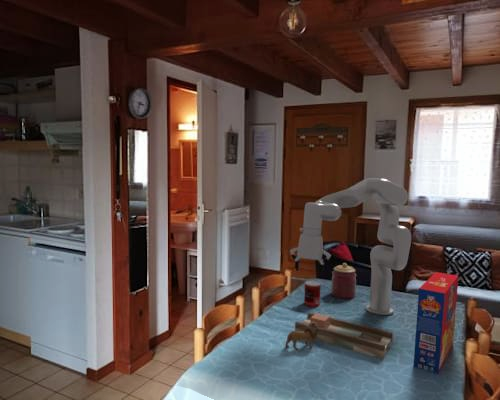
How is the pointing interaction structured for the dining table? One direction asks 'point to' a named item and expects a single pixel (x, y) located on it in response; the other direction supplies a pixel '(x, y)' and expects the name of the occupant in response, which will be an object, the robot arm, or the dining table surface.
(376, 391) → the dining table surface
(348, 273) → the canister
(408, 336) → the dining table surface
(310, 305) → the canned food
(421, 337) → the pasta box
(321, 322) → the block
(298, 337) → the lion figurine
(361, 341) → the channel board
